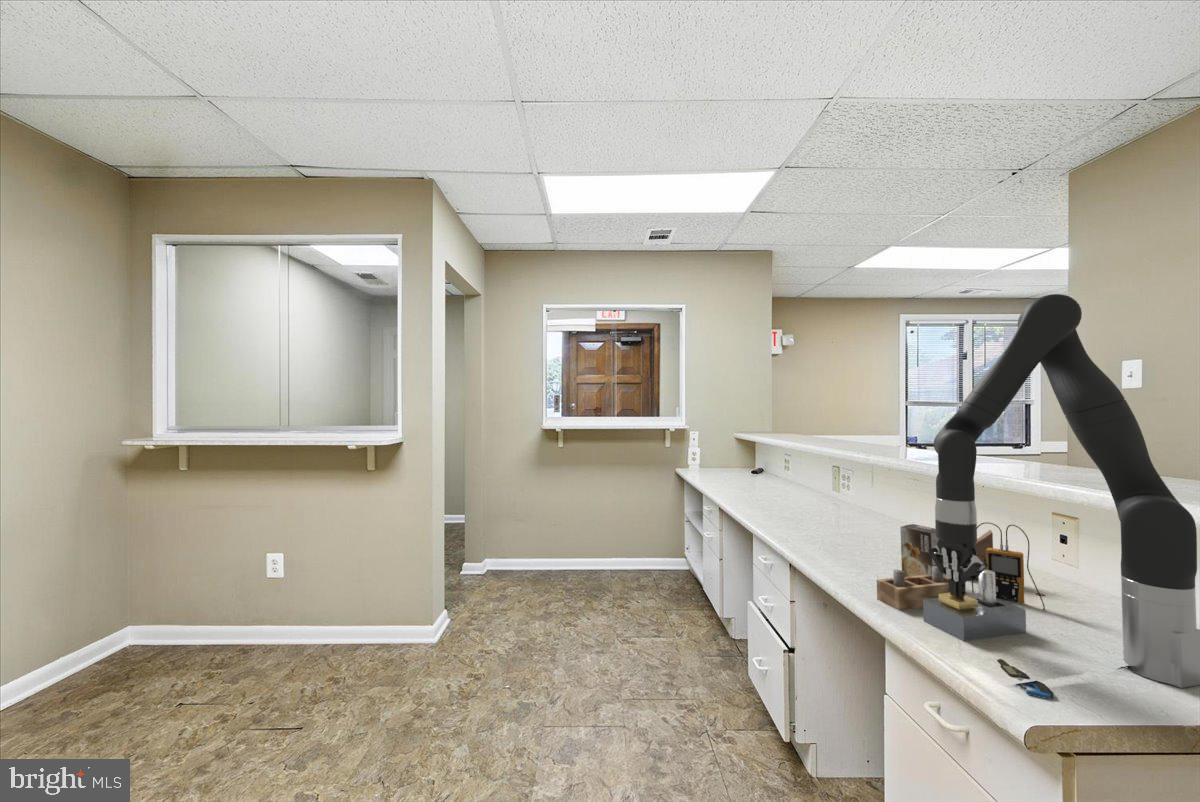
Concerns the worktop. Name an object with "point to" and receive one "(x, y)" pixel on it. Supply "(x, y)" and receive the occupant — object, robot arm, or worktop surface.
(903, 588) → the bit rack
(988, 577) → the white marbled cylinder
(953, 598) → the yellow square-headed peg
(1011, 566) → the multimeter
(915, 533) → the coffee box
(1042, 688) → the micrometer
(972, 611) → the tool block
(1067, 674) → the worktop surface
